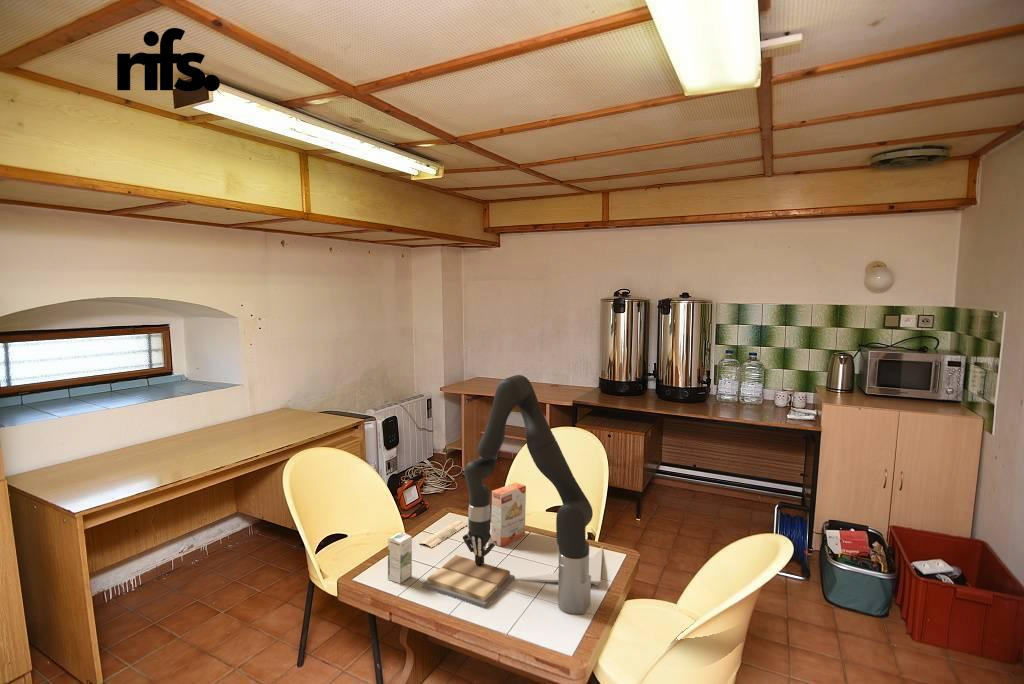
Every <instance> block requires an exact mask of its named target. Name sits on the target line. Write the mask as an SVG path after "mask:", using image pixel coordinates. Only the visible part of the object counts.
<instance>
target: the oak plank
mask: <svg viewBox="0 0 1024 684" xmlns="http://www.w3.org/2000/svg"><path fill="white" fill-rule="evenodd" d="M426 581H427V583H430V584H433V585H436V586H439V587H442V588H445V589H448V590H451V591H454V592H457V593H460V594H463V595H466V596H469V597H472V598H475V599H478V600H481V601H485V600H486V599H487V598H488V597H490V596H491V595H492V594H493V593H494V592H495V591H496V590H497V584H495V583H491V582H488V581H485V580H482V579H479V578H475V577H472V576H469V575H466V574H463V573H459V572H456V571H453V570H450V569H447V568H443V567H442V566H441V567H440V568H438V569H437V570H436V571H435V572H433V573H432V574H430V575H429V576H428V577H427V578H426Z"/></svg>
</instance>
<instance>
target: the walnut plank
mask: <svg viewBox="0 0 1024 684" xmlns="http://www.w3.org/2000/svg"><path fill="white" fill-rule="evenodd" d="M441 567H443V568H447V569H450V570H453V571H456V572H459V573H463V574H466V575H469V576H472V577H475V578H479V579H482V580H485V581H488V582H491V583H495V584H497V588H499V586H500V585H501V584H502V583H503V582H504V581H505V580H506V579H507V578H508V577H509V576H510V575H511V571H510V570H508V569H505V568H500V567H498V566H494V565H492V564H487V563H485V562H484V563H483V564H482V565H481V566H477V565H476V563H475V559H471V558H468V557H463V556H460V555H457V554H456V555H454V556H453V557H452V558H451V559H450V560H448V561H447V562H446V563H445V564H443V565H442V566H441Z"/></svg>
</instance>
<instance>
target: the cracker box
mask: <svg viewBox="0 0 1024 684" xmlns="http://www.w3.org/2000/svg"><path fill="white" fill-rule="evenodd" d="M526 496H527V486H526V485H525V484H522V483H520V482H513V483H510V484H508V485H505V486H502V487H499V488H497V489H494V490H491V519H490V535H491V539H492V540H493V541H496V542H497V544H496V545H495V546H498V547H500V548H502V547H503V546H505V545H508V544H510V543H512V542H514V541H516V540H519V539H520V538H522V537H525V536H526V535H525V534H526V505H527V503H526V501H527V497H526ZM518 538H519V539H518Z"/></svg>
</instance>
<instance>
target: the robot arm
mask: <svg viewBox="0 0 1024 684" xmlns="http://www.w3.org/2000/svg"><path fill="white" fill-rule="evenodd" d="M515 407H517V408H518V411H519V413H520V414H521V417H522V419H523V422H524V428H525V440H526V441H525V442H526V448H527V450H528V453H529V454H530V456H531V459H532V461H533V462H534V465H535V466H536V468H537V469H538V471H540V473H541V474H542V475H543V476H544V477H545V478H547V479H548V480H549V481H550V482H551V484H552V485H553V486H554V488H555V489H556V492H558V495H559V498H560V500H561V502H562V505H561V506H560V507H559V508H558V509H557V512H556V520H555V528H556V533H555V534H556V543H557V546H558V572H559V573H558V582H557V583H558V586H557V587H558V589H557V592H558V593H557V595H558V596H557V603H558V604H557V606H558V608H559V610H561V611H562V612H564V613H566V614H570V615H585V614H586V612H587V611H588V609H589V608H590V606H591V598H592V596H591V595H592V594H591V593H592V592H591V591H592V590H591V589H592V585H591V584H592V583H591V575H589V559H590V545H589V542H588V541H587V540H586V527H587V526H588V525H589V524H590V523H591V521H592V519H593V512H594V511H593V508H592V505H591V503H590V501H589V500H588V498H587V495H586V494H585V493H584V492H583V490H582V488H581V487H580V485H579V483H578V482H577V480H576V478H575V477H574V474H573V472H572V470H571V468H570V466H569V464H568V462H567V460H566V458H565V456H564V454H563V452H562V449H561V447H560V444H559V443H558V441H557V439H556V437H555V435H554V434H553V432H552V430H551V427H550V425H549V423H548V421H547V419H546V417H545V415H544V413H543V411H542V410H543V409H541V405H540V403H539V400H538V398H537V395H536V392H535V390H534V387H533V385H532V382H531V381H530V379H528V377H526V376H524V375H522V374H516V375H512V376H509V377H506V378H503V379H502V380H500V381H499V383H498V384H497V387H496V390H495V394H494V398H493V402H492V405H491V411H490V414H489V418H488V421H487V424H486V427H485V429H484V431H483V434H482V437H481V439H480V440H479V443H478V445H477V454H478V455H479V457H478V458H476V459H474V460H471V461H469V462H467V464H466V465H465V468H464V479H465V482H466V485H467V490H468V510H467V511H468V514H467V515H468V523H467V527H468V528H467V529H468V532H467V533H466V534H465V535H463V536H462V539H463V541H464V543H465V546H466V547H467V549H468V550H469V552H470V553H473V555H474V561H475V563H476V565H477V566H481V565H482V564H483V563H485V556H487V555H488V554H489V553H490V552H492V550H493V549H494V548H495V547H496V546H497V545H496V544H497V542H496V541H493V540H492V539H491V505H490V503H491V498H490V497H491V496H490V493H491V492H490V488H489V485H486V484H483V480H485V479H486V478H489V477H490V476H491V475H492V474H493V473H494V471H495V469H496V466H497V459H498V454H499V452H500V449H501V447H502V445H503V443H504V440H505V436H506V424H507V421H508V418H509V416H510V414H511V412H513V409H514V408H515Z"/></svg>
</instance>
